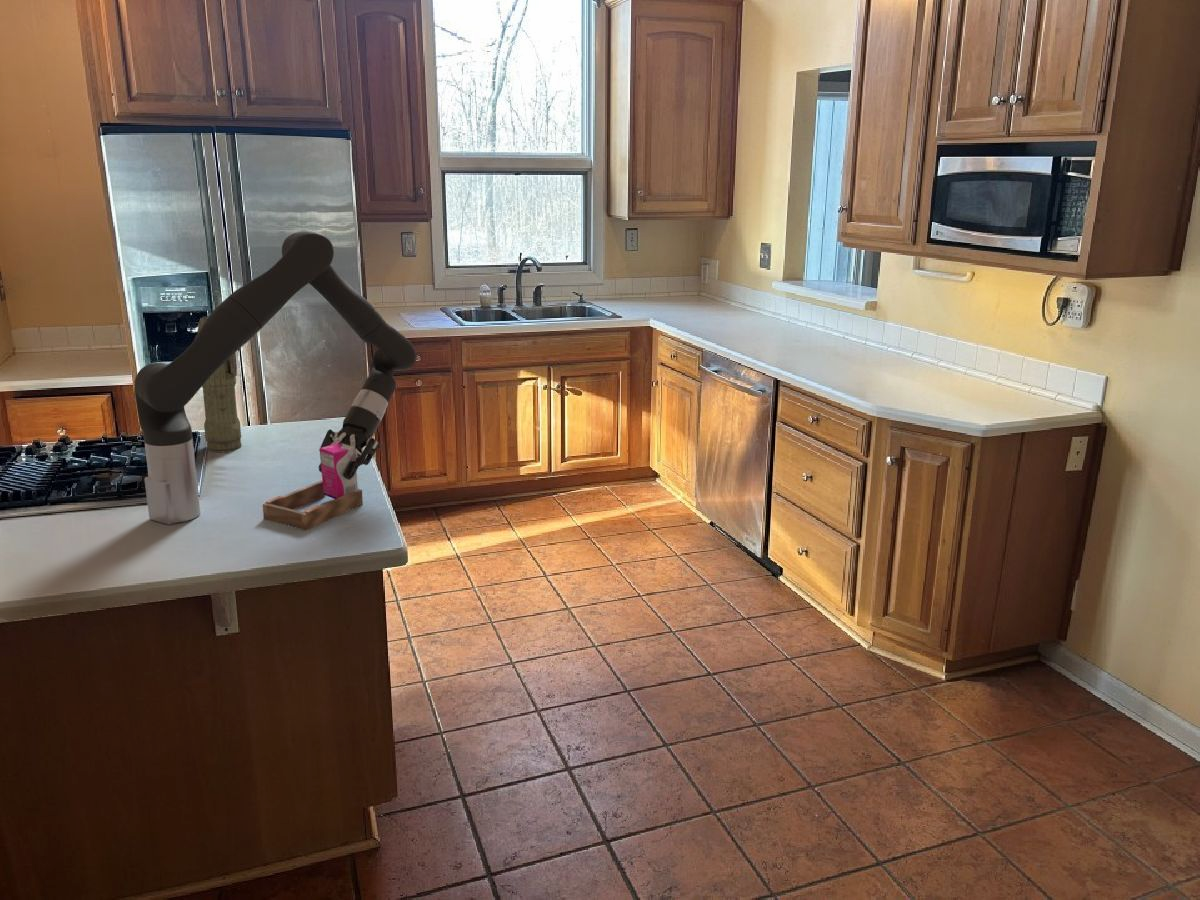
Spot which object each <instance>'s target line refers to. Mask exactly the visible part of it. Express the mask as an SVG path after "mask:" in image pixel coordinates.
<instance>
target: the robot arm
mask: <svg viewBox="0 0 1200 900" xmlns="http://www.w3.org/2000/svg"><path fill="white" fill-rule="evenodd" d="M334 252H335V251H334V246H333V243H332V242H331V240H330V238H328V237H327V236H326V235H324V234H322V233H320V232H316V231H297V232H293V233H291V234H289V235H288V236H287V237H286V238H285V239H284V240H283V242H282V245H281V258H279V259H278V261H277V262H276V263H275V264H274V265H273V266H272V267H270V268H269V269H268V270H266V271H265V272H264V273H262V274H261V275H259V276H257V277H255V278H254V279H251V280H250V281H248V282H247V283H245V284H244V285H242V286H240V287H239V288H238V289H236V290H234V292H232V293H230V295H228V296H227V297H226V298H225V299H224V300H223V301H222V302H221V303H220V304H219V305H218V306H216V308H214V309H213V310H212V312H211V313H210V314H209V315H208V316H209V317H208V318H207V320H206V321H205V323H204V324H203V326H202V328H201V329H200V331H199V333H198V332H197V334H198V335H197V334H196V335H197V336H196V335H195V337H196V338H195V337H194V339H195V340H193V341H192V343H190V345H189V346H188V347H187V348H186V349H185V350H184V351H183V352H182V353H181V354H179V355H178V356H177V357H176V358H175V359H173V361H171V362H170V363H168V364H167V363H164V362H151V363H149V364H145V366H143V367H142V368H140V369H139V371H138V373H136V376H135V380H134V396H135V404H136V405H135V406H136V409H137V415H138V424H139V426H140V428H141V431H142V434H143V435H142V436H143V441H144V448H145V450H144V451H145V457H146V467H147V475H148V476H145V477H144V485H145V486H144V487H145V493H146V494H145V495H146V502H147V503H146V505H147V511H148V518H149V520H152V521H155V522H159V523H162V524H165V525H171V524H177V523H184V522H188V521H190V520H194V519H195V518H197V517H198V516H200V514H201V507H200V506H201V505H200V499H199V488H198V479H197V471H196V470H197V468H196V459H195V449H194V439H193V430H192V426H191V423H190V422H189V419H188V417H187V414H186V410H185V406H186V405H188V403H189V402H190V401H191V400H192V399H193V397H194V396H195V395H196V394H198V392H199V391H200V390H201V388H202V386H203V384H204V383H205V382H206V381H207V380H208V379H209V377H210V376H211V375H212V374H213V373H214V372H215V371H216V370H217V369H218V368H219V367H220V366H221V365H222V364H224V363H225V362H226V361H227V360H228V359H229V358H230V357H231V356H232V355H233V354H235V353H237V352H238V351H239V350H240V349H241V348H242V347H243V346H245V344H247V343H248V342H249V341H250V340H251V339H252V338H253V337H254V336H256V335H257V334H258V332H259V331H261V330H262V329H263V328H264V327H265V326H266V324H268V323H269V321H270V320H271V319H272V318H274V316H275V315H276V314H277V313H279V311H281V310H282V308H283V307H285V305H286V304H287V303H288V301H289V300H291V299H292V298H293V296H295V295H296V294H297V293H298V292H299V291H301V290H302V288H304V287H306V286H307V285H308V284H309V285H310V286H311V287H313V288H314V289H315V290H316V291H317V292H318V293H319V294H320V295H321V296H322V297H323V298H324V299H325V300H326V301H327V302H328V304H330V305H331V306H332V307H333V309H334V310H336V312H337V313H338V314H339V315H340V316H341V317H342V318H343V320H344V321H345V323H347V324H348V325H349V327H350V328H351V329H352V330H353V332H355V333H356V334H357V336H358V337H359V338H360V339H361V340H362V341H363V342H364V343H365V344H368V345H370V346H371V345H372V346H375V347H377V348H376V350H375V351H374V353H373V355H372V358H371V363H370V367H369V370H368V376H367V378H366V380H365V381H364V383H363V385H362V387H361V389H360V391H359V392H358V394H357V395H356V397H354V400H353V401H352V403H351V406H350V408H349V410H348V411H347V413H346V415H345V417H344V419H343V421H342V428H341V429H340V430H339V431H333V430H332V429H331V428H330V429H328V430H327V431H326V434H325V436H324V438H323V441H322V443H321V445H320V446H319V450H318V451H319V452H320V448H322V447H326V446H329V445H333V444H339V443H343V444H346V445H349V446H352V447H355V448H354V450H353V455H352V462H351V461H350V462H349V464H348V466H347V468H346V470H345V472H344V474H343V476H344V477H345V478H346V479H348V480H350V479H351V478H352V477H353V476H354V475H355V473H356V471H358V468H359V467H361V466H362V465H363V466H368V465H369V464H370V462H371V461H372V458H373V457H374V456H375V454H376V452H377V450H378V449H379V447H380V443H379V442H378V441H377V440H376V439H375V438H374V434H376V431H377V429H378V428H379V426H380V423H381V422H382V419H383V417H384V415H385V413H386V410H387V407H388V405H389V403H390V402H391V401H390V400H391V398H392V397H393V395H394V393H395V391H396V388H397V382H396V380H395V379H394V374H395V373H396V371H404V370H408V369H410V368H412V367H413V366H414V365H415V363H416V361H417V352H416V348H415V347H414V345H413V344H412V342H411V341H410V340H409V339H408V338H407V337H406V336H404V335H403V334H402V333H401V332H400V331H398V330H397V329H396V328H394V327H393V326H392V325H390V324H388V322H386V321H385V319H384V318H383V316H382V315H381V314H380V313H379V311H377V310H376V308H375V307H374V306H373V304H371V303H370V302H369V300H367V299H366V298H365V297H364V296H363V295H362V294H361V293H359V292H358V291H357V290H356V289H354V288H353V287H352V286H351V285H350V284H349V283H348V282H347V281H345V280H344V279H343V278H342V277H341V276H340V275H339V274H338V273H337V271H336V270H335V269H334V268H333V266H332V265H331V264H332V262H333V259H334V255H335V253H334ZM318 471H319V472H320V473H321V474H322V470H321V462H320V464H319V465H318Z"/></svg>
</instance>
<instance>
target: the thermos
mask: <svg viewBox="0 0 1200 900" xmlns="http://www.w3.org/2000/svg"><path fill="white" fill-rule="evenodd" d="M208 317H209V315H206V316H203V317H202V318H201V317H200V319H199V321H198V326H197V334H196V335H195V337H194V338H193V339H194V340H195V338H196V336H197V335H198V333H199V331H200V329H201V328H202V326H203V324H204V323H205V321H206V320H207V318H208ZM194 340H193V341H194ZM236 353H237V352H236ZM236 353H235V354H233V355H232V356H231V357H230V358H229V359H228V360H227V361H226V362H225V363H224V364H222V365H221V366H220V367H219V368H218V369H217V370H216V371H215V372H214V373H213V374H212V375H211V376H210V377H209V379H208V380H207V381H206V382H205V383H204V384H203V386H202V387H201V388H202V394H203V405H204V415H205V420H204V424H203V425H204V426H203V428H204V438H205V441H206V449H207V448H208V449H207V451H209V452H216V453H225V452H232V451H236V450H239V449H241V448H242V439H241V438H242V429H241V421H240V419H239V417H238V408H237V407H238V406H237V396H236V385H237V376H238V365H237V354H236Z"/></svg>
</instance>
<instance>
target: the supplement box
mask: <svg viewBox="0 0 1200 900" xmlns="http://www.w3.org/2000/svg"><path fill="white" fill-rule="evenodd" d="M354 448H355V447H352V446H349V445H346V444H343V443H339V444H333V445H329V446H326V447H322V448H320V447H319V449H320V451H319V457H320V463H321V470H322V473H321V479H322V480H321V481H322V482H323V493H324V495H325V496H326V497H330V498H332V499H333V500H335V499H337V498H339V497H342V496H344V495H346V494H348V493H351V492H353V491H355V490H358V489H359V485H358V484H359V483H358V473H357V471H358V470H357V471H356V473H355V475H354V476H353V477H352V478H351V479H350V480H348V479H346V478H345V477H344V476H343V474H344V472H345V470H346V468H347V466H348V464H349V462H350V461H351V462H352V455H353V450H354Z"/></svg>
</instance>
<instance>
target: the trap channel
mask: <svg viewBox="0 0 1200 900" xmlns="http://www.w3.org/2000/svg"><path fill="white" fill-rule="evenodd" d="M325 496H326V495H324V493H323V482H322V480H319V481H317V482H314V483H312V484H309V485H307V486H305V487H301V488H300V489H296V490H294V491H292V492H290V493H287V494H284V495H282V496H281V495H279V496H276V497H273V498H271V499H268V500H266V501H265V502H264V503H263V504H262V515H263V520H265V521H269V522H272V523H276V522H277V524H280V523H281V525H284V524H285V525H284V526H288V525H289V527H291V526H292V528H295V527H296V529H299V528H300V530H303V529H304V530H303V531H308V530H310V529H312V528H315V527H316V525H317V526H319V525H321V524H323V523H325V522H327V521H330V520H331V518H332V519H334V518H336V517H338V516H340V515H343V514H344V512H345V513H347V512H349V511H351V510H353V509H355V507H356V508H358V507H360V506H362V505H364V503H363V500H364V499H363V489H360V488H358V490H355V491H353V492H351V493H348V494H346V495H344V496H342V497H339V498H337V499H333V500H330V501H328V502H325V503H323V504H320V505H316V506H314V507H311V508H309V509H306V510H304V511H301V510H296V509H297V508H299V507H301V506H304V505H306V504H308V503H310V502H313V501H316V500H318V499H320V498H323V497H325ZM361 504H362V505H361ZM359 505H360V506H359ZM357 506H358V507H357ZM352 508H353V509H352ZM350 509H351V510H350ZM348 510H349V511H348ZM346 511H347V512H346ZM342 513H343V514H342ZM333 517H334V518H333ZM329 519H330V520H329ZM320 523H321V524H320ZM318 524H319V525H318ZM311 527H312V528H311ZM309 528H310V529H309ZM307 529H308V530H307Z"/></svg>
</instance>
